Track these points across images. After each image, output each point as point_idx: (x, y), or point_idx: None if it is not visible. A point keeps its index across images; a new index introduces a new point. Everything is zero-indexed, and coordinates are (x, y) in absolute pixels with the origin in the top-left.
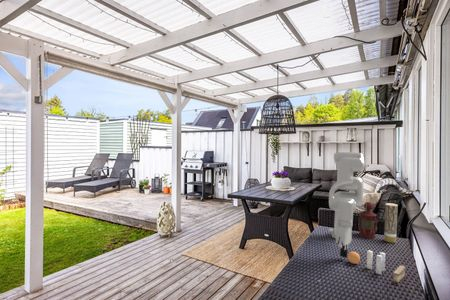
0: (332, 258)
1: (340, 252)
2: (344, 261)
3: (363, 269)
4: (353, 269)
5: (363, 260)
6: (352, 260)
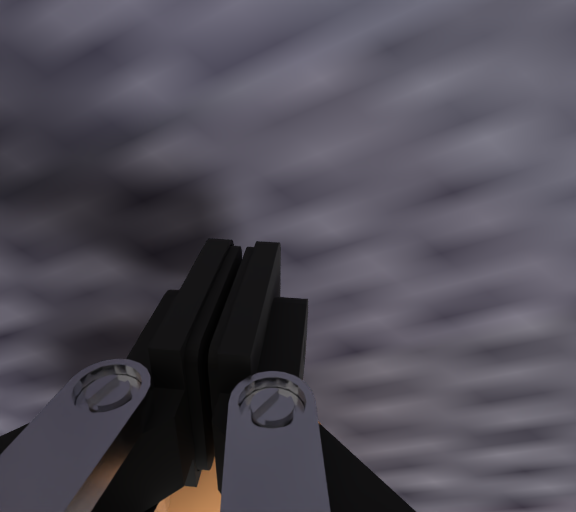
0: (106, 80)
1: (189, 283)
2: None
3: None
4: None
5: (499, 467)
6: None
